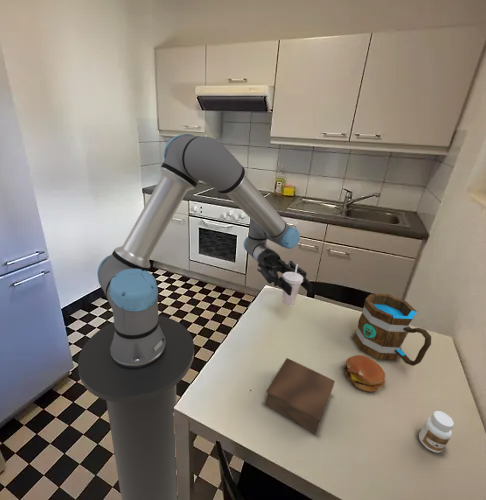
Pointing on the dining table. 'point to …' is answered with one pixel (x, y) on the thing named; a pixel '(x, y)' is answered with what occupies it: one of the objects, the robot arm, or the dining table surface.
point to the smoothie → (294, 282)
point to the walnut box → (300, 394)
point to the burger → (364, 373)
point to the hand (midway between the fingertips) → (300, 290)
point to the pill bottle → (436, 431)
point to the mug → (387, 328)
